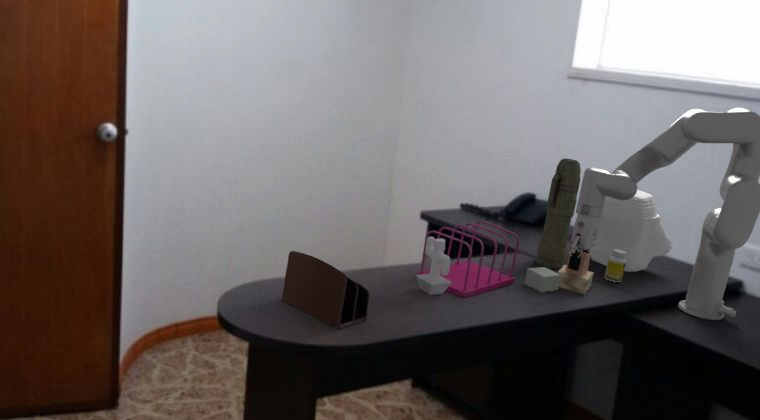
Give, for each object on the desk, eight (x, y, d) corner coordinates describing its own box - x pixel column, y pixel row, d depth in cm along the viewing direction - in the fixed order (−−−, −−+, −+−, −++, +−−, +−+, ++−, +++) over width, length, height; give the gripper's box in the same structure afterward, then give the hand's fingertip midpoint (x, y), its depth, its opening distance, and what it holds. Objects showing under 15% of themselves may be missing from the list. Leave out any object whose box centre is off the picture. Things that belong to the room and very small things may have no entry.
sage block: (557, 291, 223) (561, 275, 221) (540, 292, 219) (544, 276, 217) (541, 282, 228) (544, 266, 227) (524, 284, 224) (527, 268, 223)
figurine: (432, 299, 201) (441, 245, 197) (410, 286, 208) (419, 234, 204) (452, 296, 205) (461, 244, 201) (431, 283, 212) (439, 233, 209)
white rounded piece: (597, 249, 274) (613, 180, 267) (667, 274, 255) (685, 201, 249) (565, 256, 259) (581, 183, 253) (637, 282, 241) (655, 205, 234)
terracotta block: (587, 273, 228) (591, 254, 226) (580, 276, 224) (585, 257, 222) (571, 268, 230) (575, 249, 229) (565, 271, 226) (569, 252, 225)
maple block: (590, 287, 230) (593, 272, 229) (584, 295, 222) (588, 279, 221) (561, 279, 234) (564, 264, 233) (554, 287, 226) (558, 271, 225)
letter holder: (337, 330, 173) (345, 273, 170) (281, 300, 185) (287, 246, 182) (366, 321, 181) (375, 266, 177) (310, 293, 193) (317, 241, 189)
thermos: (527, 261, 246) (548, 157, 237) (548, 257, 254) (569, 156, 245) (549, 270, 240) (571, 164, 231) (570, 266, 248) (592, 163, 239)
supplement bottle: (622, 284, 237) (629, 255, 235) (604, 280, 238) (611, 251, 236) (620, 279, 242) (627, 250, 240) (603, 275, 243) (610, 247, 241)
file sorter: (513, 283, 223) (523, 233, 219) (463, 298, 205) (473, 244, 201) (467, 265, 234) (475, 217, 230) (415, 277, 216) (423, 225, 212)
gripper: (591, 217, 213) (578, 276, 218) (611, 209, 227) (599, 265, 231) (566, 210, 217) (554, 269, 222) (588, 203, 231) (575, 258, 236)
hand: (577, 266), depth 227 cm, fingers open, 5 cm apart
